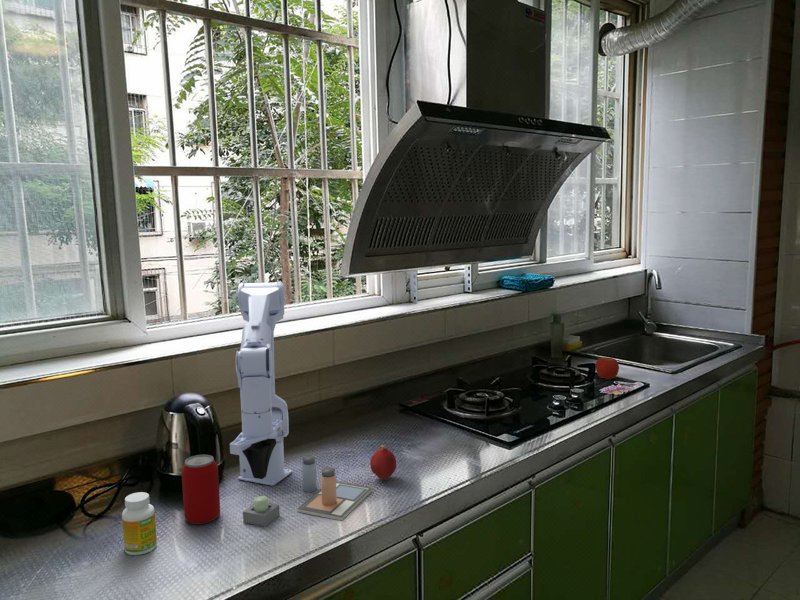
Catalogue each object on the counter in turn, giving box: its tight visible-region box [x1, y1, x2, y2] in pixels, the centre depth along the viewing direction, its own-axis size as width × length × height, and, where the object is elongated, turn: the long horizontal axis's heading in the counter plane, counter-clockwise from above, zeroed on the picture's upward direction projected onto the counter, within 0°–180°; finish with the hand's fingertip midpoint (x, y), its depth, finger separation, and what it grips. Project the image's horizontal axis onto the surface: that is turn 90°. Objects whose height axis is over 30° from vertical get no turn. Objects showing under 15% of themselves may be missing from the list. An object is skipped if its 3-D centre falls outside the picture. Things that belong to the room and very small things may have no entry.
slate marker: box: [301, 455, 318, 493], centre depth 136 cm, size 3×3×7 cm
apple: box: [595, 356, 620, 380], centre depth 220 cm, size 8×8×8 cm
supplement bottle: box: [121, 491, 158, 556], centre depth 113 cm, size 5×5×10 cm
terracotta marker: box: [320, 466, 337, 506], centre depth 128 cm, size 3×3×7 cm
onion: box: [369, 445, 397, 481], centre depth 140 cm, size 6×6×8 cm
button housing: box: [242, 501, 281, 528], centre depth 123 cm, size 5×5×2 cm
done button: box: [253, 495, 269, 513], centre depth 123 cm, size 3×3×3 cm
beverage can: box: [181, 454, 221, 525], centre depth 123 cm, size 7×7×12 cm
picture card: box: [296, 480, 373, 521], centre depth 130 cm, size 10×14×1 cm
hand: (259, 477), depth 122 cm, fingers closed
